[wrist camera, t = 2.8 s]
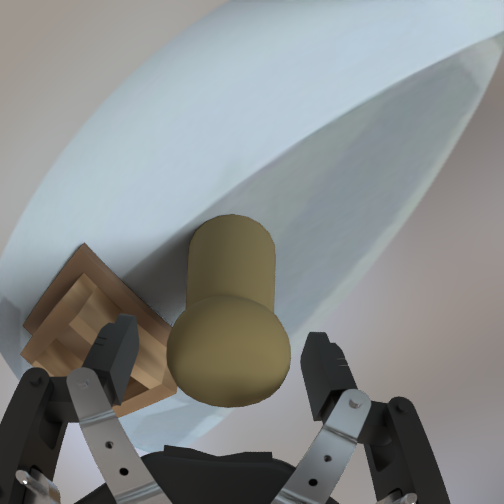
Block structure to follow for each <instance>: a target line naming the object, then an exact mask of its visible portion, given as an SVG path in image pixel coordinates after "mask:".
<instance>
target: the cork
mask: <svg viewBox="0 0 504 504" xmlns="http://www.w3.org/2000/svg"><path fill="white" fill-rule="evenodd" d="M275 264H276V255H275V245H274V242H273V240H272V238H271V236H270V234H269V232H268V231H267V230H266V229H265V228H264V227H263V226H262V225H261V224H260V223H258V222H256V221H254V220H252V219H251V218H249V217H246V216H240V215H235V214H231V215H222V216H217V217H215V218H213V219H211V220H209V221H206V222H205V223H204V224H203V225H202V226H201V227H200V228H199V229H198V230H196V232H195V234H194V236H193V237H192V239H191V241H190V245H189V253H188V268H187V290H186V310H185V311H184V312H183V313H182V314H181V315H180V316H179V318H178V319H177V320H176V322H175V324H174V326H173V328H172V329H171V331H170V333H169V337H168V340H167V349H166V358H167V366H168V369H169V371H170V373H171V375H172V378H173V379H174V381H175V383H176V385H177V386H178V387H179V388H180V389H181V390H182V391H183V392H184V393H185V394H186V395H188V396H190V397H192V398H193V399H195V400H197V401H199V402H202V403H205V404H208V405H212V406H218V407H227V408H230V407H244V406H248V405H252V404H255V403H259V402H261V401H262V400H265V399H266V398H268V397H270V396H271V395H272V394H273V393H274V392H276V391H277V390H278V389H279V388H280V386H281V384H282V383H283V381H284V380H285V378H286V375H287V373H288V371H289V369H290V361H291V349H290V342H289V338H288V335H287V333H286V331H285V329H284V327H283V326H282V324H281V322H280V321H279V319H278V317H277V316H276V315H275V314H274V295H275Z"/></svg>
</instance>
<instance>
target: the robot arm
mask: <svg viewBox="0 0 504 504" xmlns="http://www.w3.org/2000/svg"><path fill="white" fill-rule="evenodd" d="M138 351H139V334H138V327H137V319H136V316H134V315H127V314H121V313H120V314H119V315H118V317H117V319H116V321H115V323H110V322H109V323H107V324H106V325H105V326H104V327H102V328H101V330H100V331H99V333H98V335H97V338H96V339H95V341H94V344H93V345H92V347H91V349H90V351H89V352H88V354H87V356H86V358H85V360H84V362H83V365H82V366H81V368H77V369H74V370H73V371H71V372H70V373H69V375H68V376H63V377H50V376H49V374H48V372H47V371H46V370H45V369H43V368H40V367H34V368H31V369H29V370H27V371H26V372H25V373H24V374H23V376H22V378H21V380H20V382H19V384H18V386H17V388H16V390H15V392H14V394H13V397H12V399H11V401H10V403H9V405H8V407H7V410H6V412H5V414H4V417H3V419H2V421H1V424H0V504H61V502H60V492H59V490H58V488H57V486H56V485H55V484H54V483H53V482H52V481H53V477H54V473H55V469H56V464H57V460H58V457H59V452H60V449H61V445H62V441H63V438H64V435H65V431H66V428H67V425H68V422H70V423H71V422H72V423H73V422H75V423H79V425H80V428H81V430H82V433H83V435H84V438H85V440H86V442H87V445H88V447H89V449H90V451H91V453H92V456H93V457H94V460H95V462H96V464H97V466H98V468H99V470H100V472H101V474H102V476H103V478H104V480H105V483H104V484H102V485H101V486H100V487H98V488H97V489H95V490H94V491H93V492H91V493H89V494H88V495H86V496H85V497H83V498H82V499H80V500H79V501H77V502H76V503H74V504H339V503H338V502H337V501H335V500H334V499H333V498H331V497H330V495H331V493H332V491H333V490H334V488H335V486H336V484H337V483H338V481H339V479H340V477H341V475H342V473H343V472H344V470H345V468H346V466H347V464H348V462H349V460H350V458H351V456H352V454H353V452H354V450H355V448H356V445H357V443H361V444H364V448H365V452H366V456H367V460H368V464H369V468H370V472H371V476H372V480H373V485H374V490H375V494H376V499H377V503H376V504H450V500H449V497H448V494H447V491H446V488H445V485H444V482H443V479H442V476H441V473H440V470H439V468H438V465H437V462H436V460H435V457H434V454H433V451H432V449H431V446H430V443H429V441H428V438H427V436H426V433H425V431H424V428H423V426H422V424H421V421H420V419H419V416H418V414H417V412H416V409H415V407H414V405H413V404H412V402H411V401H409V400H408V399H406V398H404V397H394V398H392V399H391V400H390V401H389V403H382V402H375V401H371V400H370V398H369V396H368V395H367V394H366V393H364V392H363V391H361V390H358V388H357V386H356V383H355V381H354V378H353V376H352V373H351V371H350V368H349V366H348V363H347V361H346V360H345V356H344V354H343V352H342V350H341V349H340V347H339V346H337V344H336V343H330V341H329V339H328V336H327V334H326V333H325V332H309V334H308V337H307V340H306V343H305V346H304V349H303V352H302V355H301V361H300V363H301V370H302V374H303V378H304V382H305V386H306V390H307V394H308V398H309V402H310V406H311V411H312V415H313V420H314V421H322V422H323V427H322V428H321V430H320V432H319V433H318V435H317V436H316V438H315V440H314V441H313V443H312V444H311V446H310V447H309V449H308V450H307V452H306V453H305V455H304V456H303V458H302V459H301V460H300V462H299V463H298V465H297V466H296V468H295V467H294V466H292V465H290V464H289V463H287V462H284V461H282V460H278V459H274V458H272V452H243V453H237V454H232V455H226V456H214V455H210V454H207V453H203V452H201V451H197V450H194V449H191V448H183V447H176V446H169V445H164V451H159V452H153V453H150V454H147V455H144V456H142V457H139V456H138V454H137V452H136V450H135V449H134V447H133V445H132V443H131V442H130V440H129V438H128V436H127V435H126V433H125V431H124V429H123V427H122V425H121V423H120V422H119V420H118V418H117V416H116V414H115V412H114V411H113V409H112V407H113V404H114V405H118V406H121V404H122V401H123V397H124V394H125V391H126V388H127V385H128V381H129V378H130V375H131V372H132V369H133V366H134V363H135V360H136V357H137V355H138Z"/></svg>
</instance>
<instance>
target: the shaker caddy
mask: <svg viewBox="0 0 504 504" xmlns="http://www.w3.org/2000/svg"><path fill="white" fill-rule="evenodd" d="M120 313H121V314H127V315H134V316H136V319H137V327H138V334H139V351H138V355H137V357H136V360H135V363H134V366H133V369H132V372H131V375H130V378H129V381H128V385H127V388H126V391H125V394H124V397H123V401H122V404H121V406H118V405H114V404H113V407H112V409H113V411H114V412H115V414H116V416H117V418H119V417H122V416H124V415H127V414H129V413H132V412H134V411H137V410H139V409H142V408H144V407H146V406H149V405H151V404H153V403H156V402H158V401H160V400H163V399H165V398H167V397H169V396H172V395H174V394H176V392H177V385H176V383H175V381H174V379H173V378H172V375H171V373H170V371H169V369H168V366H167V358H166V349H167V340H168V337H169V333H170V331H171V329H172V327H171V326H170V325H169V324H168V323H166V322H165V321H164V320H163V319H162V318H161V317H160V316H159V315H157V314H156V313H155V312H154V311H153V310H152V309H151V308H150V307H149V306H147V305H146V304H145V303H144V302H143V301H142V300H141V299H140V298H139V297H138V296H137V295H136V294H135V293H134V292H133V291H131V290H130V289H129V288H128V287H127V286H126V285H125V284H124V283H123V282H122V281H121V280H120V279H119V278H118V277H117V276H116V275H115V274H114V273H113V272H112V271H111V270H110V269H109V268H108V267H107V266H106V265H105V264H104V263H103V262H102V261H101V260H100V259H99V257H98V256H97V255H96V254H95V253H94V252H93V251H92V250H91V249H90V248H89V247H88V246H87V245H86V244H85V243H84V244H83V245H82V246H81V247H80V248H79V249H78V250H77V252H76V253H75V254H74V255H73V256H72V258H71V259H70V260H69V261H68V263H67V264H66V265H65V267H64V268H63V269H62V270H61V272H60V273H59V274H58V276H57V277H56V278H55V280H54V281H53V282H52V284H51V285H50V286H49V288H48V289H47V290H46V292H45V293H44V295H43V296H42V297H41V299H40V300H39V302H38V303H37V305H36V306H35V308H34V309H33V311H32V312H31V314H30V315H29V317H28V318H27V320H26V321H25V323H24V324H23V327H24V328H25V329H26V330H27V331H28V332H29V333H30V334H31V335H32V337H31V339H30V340H29V342H28V343H27V345H26V346H25V348H24V349H23V351H22V352H21V354H20V355H21V356H22V357H23V358H24V359H26V360H27V361H28V362H29V363H30V364H31V365H32V366H33V367H40V368H43V369H45V370H46V371H47V372H48V374H49V376H50V377H63V376H68V375H69V373H70V372H71V371H73V370H74V369H77V368H81V366H82V365H83V362H84V360H85V358H86V356H87V354H88V352H89V351H90V349H91V347H92V345H93V344H94V341H95V339H96V338H97V335H98V333H99V331H100V330H101V328H102V327H104V326H105V325H106V324H107V323H109V322H110V323H115V321H116V319H117V317H118V315H119V314H120Z"/></svg>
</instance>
